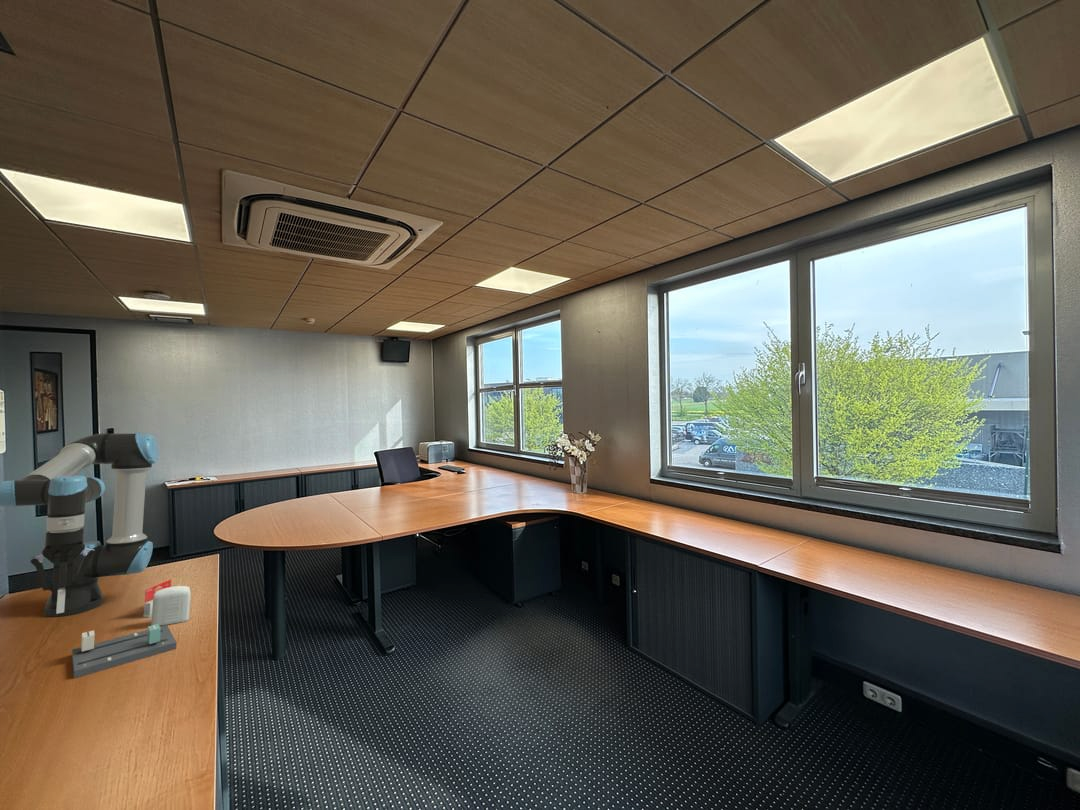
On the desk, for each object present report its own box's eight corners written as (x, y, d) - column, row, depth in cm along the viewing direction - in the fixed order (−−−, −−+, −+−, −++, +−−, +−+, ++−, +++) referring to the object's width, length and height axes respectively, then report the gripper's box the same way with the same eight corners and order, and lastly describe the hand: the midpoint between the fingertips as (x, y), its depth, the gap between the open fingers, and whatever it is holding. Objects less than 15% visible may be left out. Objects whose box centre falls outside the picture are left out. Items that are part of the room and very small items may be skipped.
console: (71, 656, 132) (72, 648, 132) (166, 630, 148) (167, 624, 148) (74, 678, 121) (74, 670, 121) (176, 648, 138) (176, 641, 138)
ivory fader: (80, 648, 132) (81, 632, 132) (92, 645, 134) (93, 629, 134) (81, 653, 129) (82, 637, 129) (93, 650, 131) (94, 634, 131)
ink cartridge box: (175, 604, 168) (177, 579, 168) (149, 618, 157) (151, 590, 157) (169, 604, 168) (171, 578, 168) (142, 617, 157) (144, 590, 157)
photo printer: (189, 616, 159) (191, 582, 159) (188, 621, 155) (190, 586, 156) (152, 623, 153) (154, 587, 153) (150, 628, 150) (152, 592, 150)
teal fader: (147, 641, 137) (147, 626, 137) (157, 638, 139) (158, 623, 139) (149, 645, 134) (150, 630, 135) (159, 642, 136) (160, 627, 136)
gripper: (31, 536, 121) (25, 623, 120) (98, 528, 130) (93, 608, 130) (31, 531, 126) (25, 614, 125) (96, 523, 135) (91, 601, 135)
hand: (60, 611), depth 127 cm, fingers closed
